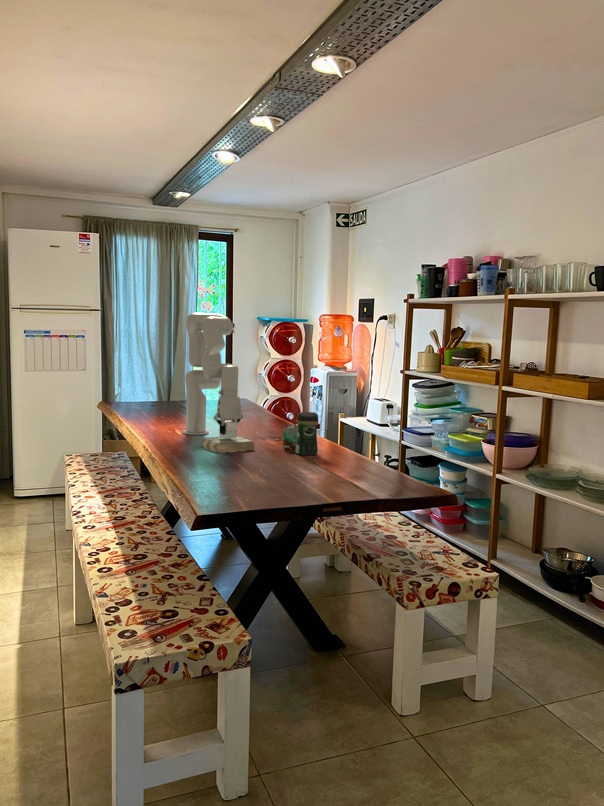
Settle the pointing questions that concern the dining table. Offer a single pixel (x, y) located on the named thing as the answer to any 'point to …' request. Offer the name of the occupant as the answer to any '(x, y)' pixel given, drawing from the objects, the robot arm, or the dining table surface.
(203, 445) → the wooden stand
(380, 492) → the dining table surface
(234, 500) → the dining table surface
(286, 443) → the food container
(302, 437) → the coffee jar
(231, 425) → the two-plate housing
